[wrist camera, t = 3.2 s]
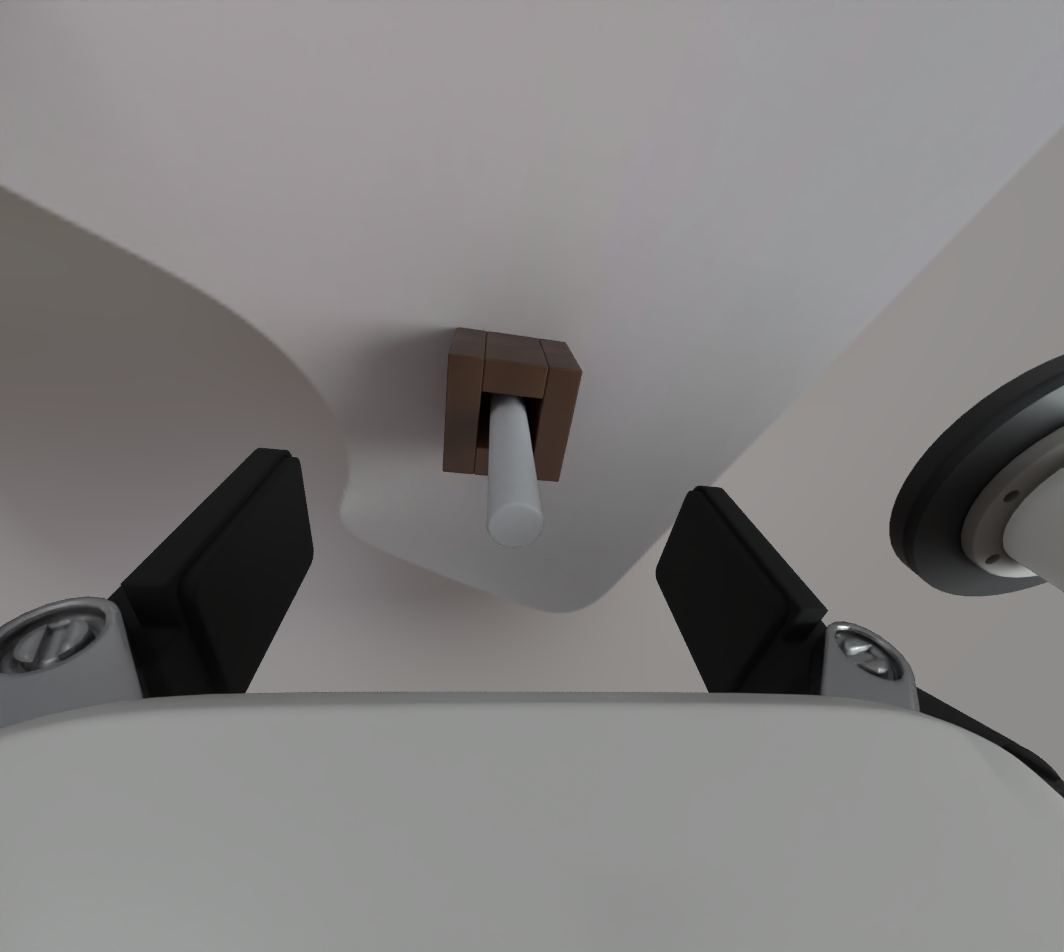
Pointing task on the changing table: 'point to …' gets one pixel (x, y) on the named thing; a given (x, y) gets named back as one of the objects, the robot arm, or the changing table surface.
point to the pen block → (510, 371)
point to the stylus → (512, 475)
